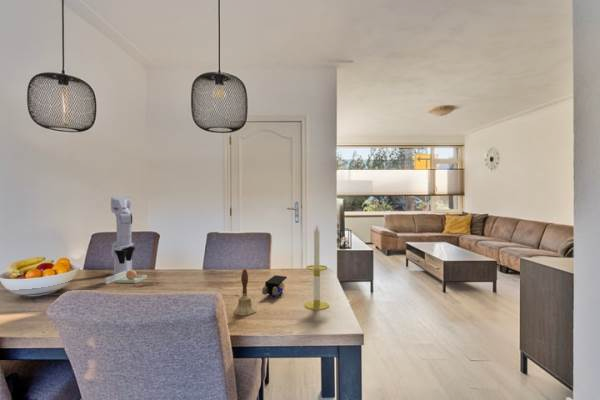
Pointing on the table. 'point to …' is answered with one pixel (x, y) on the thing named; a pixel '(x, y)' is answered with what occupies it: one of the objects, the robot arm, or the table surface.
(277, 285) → the figurine character
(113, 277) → the wall
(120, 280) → the tray
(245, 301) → the hand bell
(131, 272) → the ball
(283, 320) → the table surface
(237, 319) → the table surface
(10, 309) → the table surface
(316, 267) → the candle
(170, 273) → the table surface
